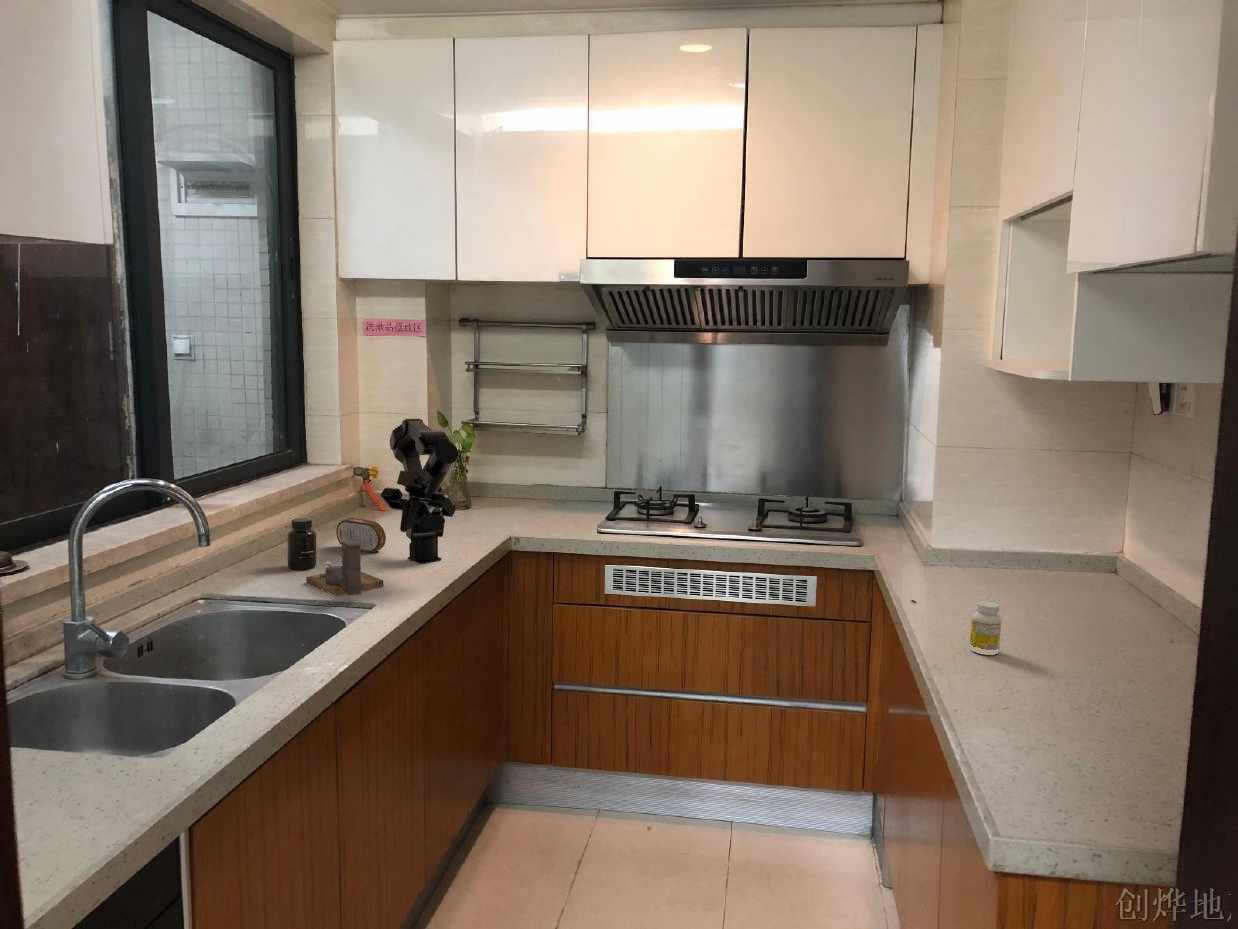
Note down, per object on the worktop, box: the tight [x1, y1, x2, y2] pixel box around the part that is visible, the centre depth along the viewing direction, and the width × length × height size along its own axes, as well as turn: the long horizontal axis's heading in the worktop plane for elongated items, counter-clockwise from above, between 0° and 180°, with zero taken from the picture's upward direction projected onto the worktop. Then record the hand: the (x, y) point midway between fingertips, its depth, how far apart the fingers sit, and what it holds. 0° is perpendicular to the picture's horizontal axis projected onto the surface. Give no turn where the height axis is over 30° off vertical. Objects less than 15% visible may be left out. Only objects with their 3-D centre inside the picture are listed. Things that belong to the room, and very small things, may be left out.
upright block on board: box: [324, 540, 362, 596], centre depth 210 cm, size 20×5×11 cm, turn 35°
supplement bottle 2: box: [969, 600, 1003, 650], centre depth 181 cm, size 5×5×10 cm
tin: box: [336, 517, 387, 553], centre depth 250 cm, size 15×3×8 cm, turn 65°
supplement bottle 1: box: [286, 517, 317, 571], centre depth 231 cm, size 7×7×12 cm
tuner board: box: [305, 571, 384, 597], centre depth 217 cm, size 12×14×2 cm
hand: (402, 531), depth 218 cm, fingers closed
